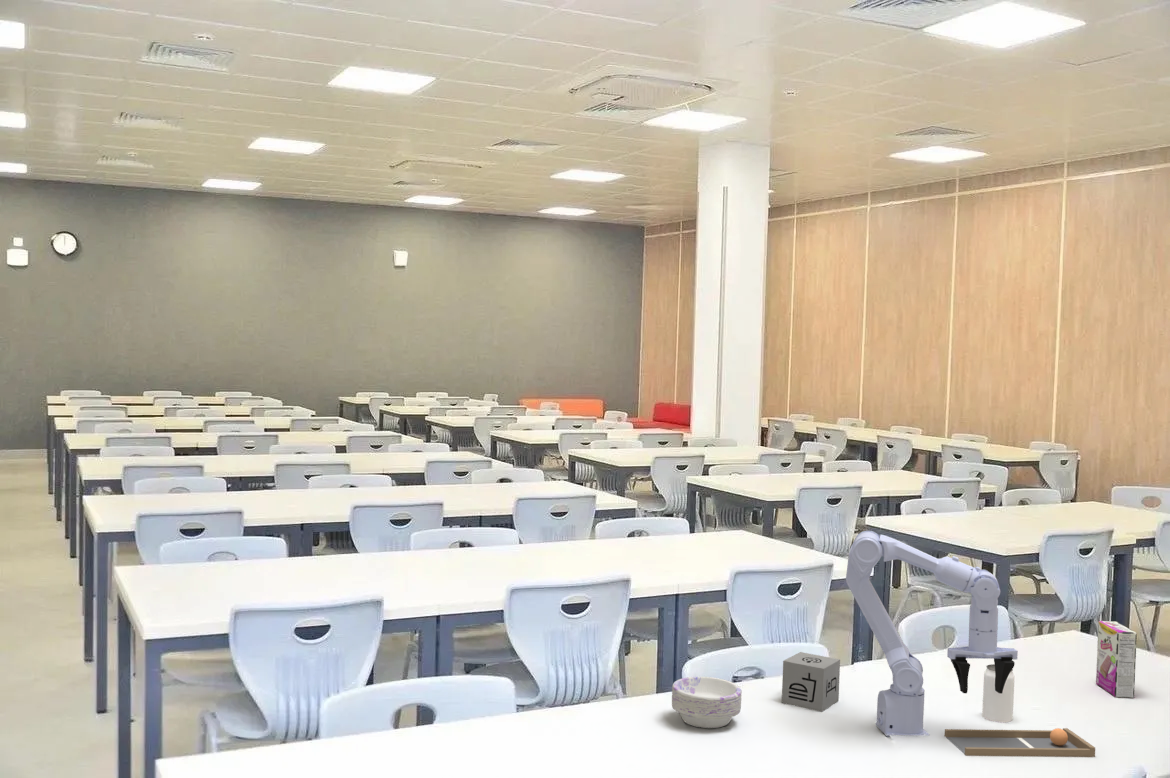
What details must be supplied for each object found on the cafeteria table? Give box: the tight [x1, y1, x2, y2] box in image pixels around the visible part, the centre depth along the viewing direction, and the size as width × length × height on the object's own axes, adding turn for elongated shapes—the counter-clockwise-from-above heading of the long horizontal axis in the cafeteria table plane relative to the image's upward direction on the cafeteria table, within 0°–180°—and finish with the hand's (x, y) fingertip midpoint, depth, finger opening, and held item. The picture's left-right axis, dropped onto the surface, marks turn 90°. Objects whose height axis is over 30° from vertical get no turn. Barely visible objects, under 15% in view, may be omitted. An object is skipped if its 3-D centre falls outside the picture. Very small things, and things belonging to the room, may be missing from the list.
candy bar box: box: [1095, 620, 1138, 699], centre depth 275 cm, size 11×5×16 cm, turn 179°
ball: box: [1050, 727, 1068, 746], centre depth 233 cm, size 4×4×4 cm
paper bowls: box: [671, 676, 743, 729], centre depth 243 cm, size 15×15×8 cm
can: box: [981, 664, 1015, 724], centre depth 250 cm, size 6×6×12 cm
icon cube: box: [781, 651, 841, 713], centre depth 259 cm, size 10×10×10 cm
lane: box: [944, 727, 1096, 758], centre depth 232 cm, size 27×12×2 cm, turn 93°
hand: (981, 692), depth 236 cm, fingers open, 7 cm apart
